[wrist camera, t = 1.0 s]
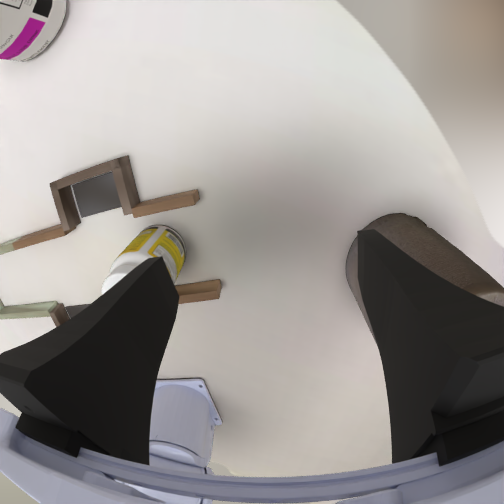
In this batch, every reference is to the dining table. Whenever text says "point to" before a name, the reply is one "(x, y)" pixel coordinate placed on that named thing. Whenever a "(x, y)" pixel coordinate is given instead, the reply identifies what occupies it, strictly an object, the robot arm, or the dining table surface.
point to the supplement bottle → (149, 253)
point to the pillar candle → (426, 258)
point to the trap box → (92, 202)
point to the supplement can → (28, 26)
